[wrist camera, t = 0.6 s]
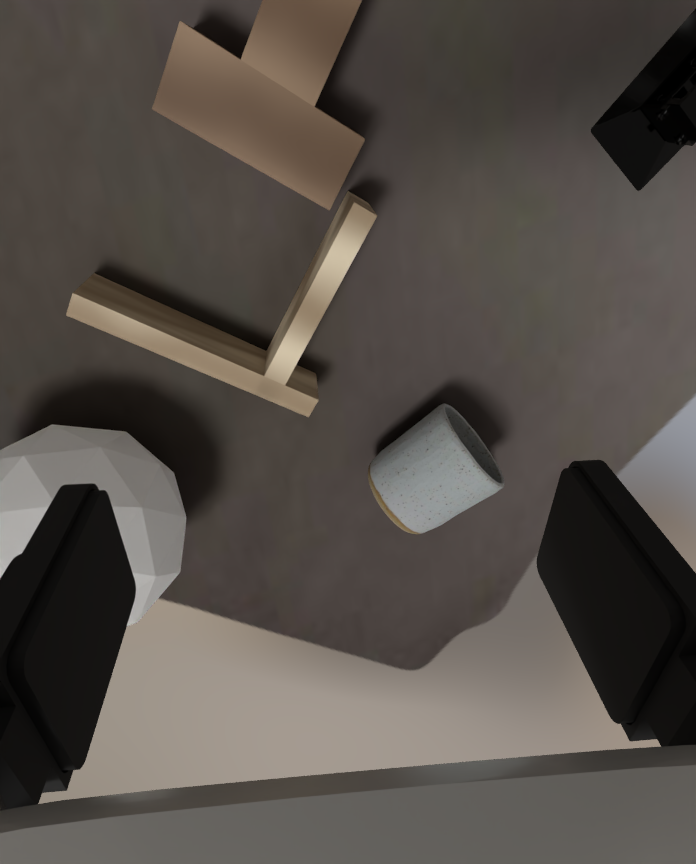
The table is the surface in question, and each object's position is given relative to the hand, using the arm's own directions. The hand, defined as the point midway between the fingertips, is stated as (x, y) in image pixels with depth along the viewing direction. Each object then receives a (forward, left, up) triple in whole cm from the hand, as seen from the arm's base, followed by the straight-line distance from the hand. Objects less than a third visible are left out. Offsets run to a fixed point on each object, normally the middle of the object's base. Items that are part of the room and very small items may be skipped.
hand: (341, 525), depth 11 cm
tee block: (-6, -5, -27) cm, 28 cm away
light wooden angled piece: (+3, -3, -27) cm, 28 cm away
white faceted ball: (+24, -6, -28) cm, 37 cm away
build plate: (-17, +16, -28) cm, 37 cm away
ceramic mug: (+11, +17, -28) cm, 34 cm away
